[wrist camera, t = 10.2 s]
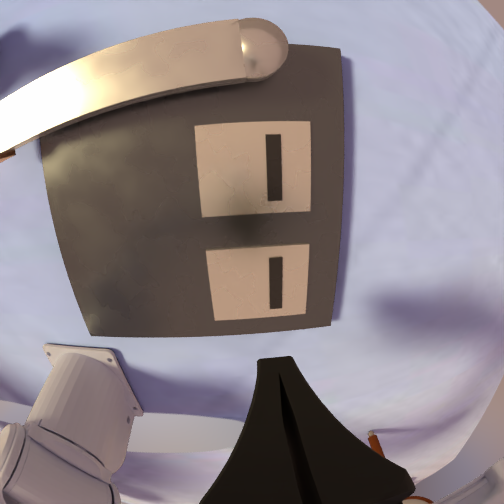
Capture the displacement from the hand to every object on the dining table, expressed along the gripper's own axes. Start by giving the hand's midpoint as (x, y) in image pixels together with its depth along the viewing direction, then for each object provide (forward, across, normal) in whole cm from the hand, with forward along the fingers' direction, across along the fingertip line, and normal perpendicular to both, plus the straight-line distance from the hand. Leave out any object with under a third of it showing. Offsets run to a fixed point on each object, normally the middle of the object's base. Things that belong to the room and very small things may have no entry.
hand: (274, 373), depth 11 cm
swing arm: (+6, +7, -12) cm, 16 cm away
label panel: (+8, +4, -5) cm, 11 cm away
